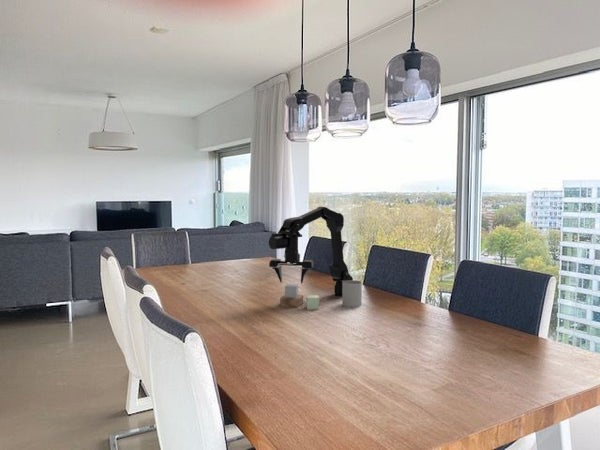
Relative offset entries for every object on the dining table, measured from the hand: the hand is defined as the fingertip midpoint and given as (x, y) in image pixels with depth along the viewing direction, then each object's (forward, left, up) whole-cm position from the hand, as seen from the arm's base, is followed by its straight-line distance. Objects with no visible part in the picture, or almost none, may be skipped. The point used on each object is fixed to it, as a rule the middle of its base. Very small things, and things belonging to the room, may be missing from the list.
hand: (291, 283), depth 206 cm
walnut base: (0, 0, -10) cm, 10 cm away
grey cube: (0, 0, -6) cm, 6 cm away
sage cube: (-10, +4, -10) cm, 15 cm away
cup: (-26, -5, -10) cm, 28 cm away
